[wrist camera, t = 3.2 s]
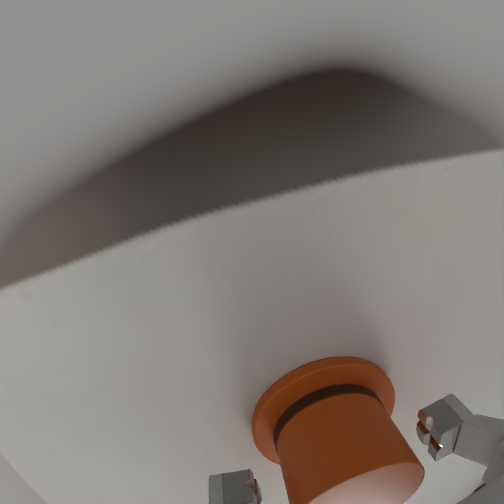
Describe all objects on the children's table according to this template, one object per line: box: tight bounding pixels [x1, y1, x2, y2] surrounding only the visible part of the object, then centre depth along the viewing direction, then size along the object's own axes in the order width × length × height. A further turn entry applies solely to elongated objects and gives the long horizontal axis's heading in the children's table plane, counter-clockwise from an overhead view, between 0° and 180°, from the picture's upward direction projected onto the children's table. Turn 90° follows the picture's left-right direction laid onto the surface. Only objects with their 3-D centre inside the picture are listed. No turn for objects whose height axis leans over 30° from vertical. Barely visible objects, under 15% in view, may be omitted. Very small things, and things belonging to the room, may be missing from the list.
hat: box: [252, 357, 425, 504], centre depth 9 cm, size 6×6×5 cm
